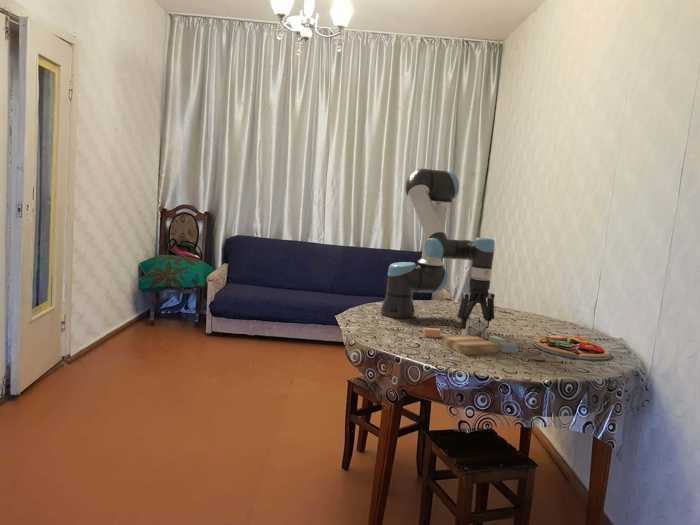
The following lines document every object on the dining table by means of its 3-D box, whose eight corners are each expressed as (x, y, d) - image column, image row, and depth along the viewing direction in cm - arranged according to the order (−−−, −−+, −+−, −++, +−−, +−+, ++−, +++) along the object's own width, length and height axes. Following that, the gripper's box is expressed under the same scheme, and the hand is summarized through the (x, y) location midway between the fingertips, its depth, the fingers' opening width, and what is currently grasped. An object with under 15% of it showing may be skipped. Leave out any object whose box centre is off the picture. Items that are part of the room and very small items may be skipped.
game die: (476, 348, 220) (488, 332, 213) (456, 338, 221) (467, 321, 214) (481, 333, 226) (492, 317, 220) (461, 323, 227) (472, 307, 221)
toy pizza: (621, 366, 199) (622, 353, 199) (538, 355, 204) (540, 343, 203) (600, 347, 227) (602, 336, 226) (528, 338, 231) (529, 327, 231)
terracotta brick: (424, 337, 216) (425, 329, 216) (423, 335, 219) (423, 327, 219) (440, 338, 217) (440, 330, 216) (438, 336, 220) (439, 328, 219)
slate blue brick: (502, 353, 202) (503, 344, 202) (497, 350, 205) (498, 342, 205) (516, 352, 204) (517, 344, 204) (511, 350, 207) (512, 342, 207)
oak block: (441, 343, 207) (442, 335, 207) (472, 342, 213) (473, 334, 213) (464, 354, 194) (465, 346, 194) (497, 353, 200) (498, 344, 200)
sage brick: (488, 343, 214) (488, 336, 214) (493, 343, 216) (494, 335, 216) (499, 348, 209) (500, 340, 209) (505, 347, 211) (506, 339, 211)
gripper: (463, 279, 210) (456, 340, 213) (508, 280, 219) (501, 338, 222) (451, 276, 217) (445, 335, 219) (496, 277, 226) (489, 333, 228)
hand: (473, 336), depth 220 cm, fingers open, 8 cm apart
